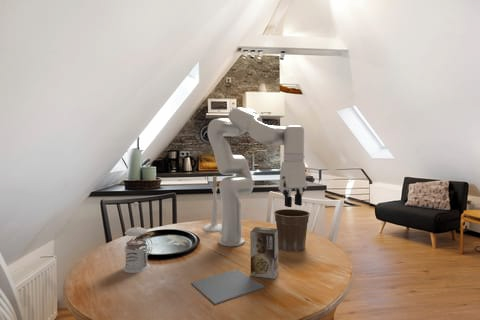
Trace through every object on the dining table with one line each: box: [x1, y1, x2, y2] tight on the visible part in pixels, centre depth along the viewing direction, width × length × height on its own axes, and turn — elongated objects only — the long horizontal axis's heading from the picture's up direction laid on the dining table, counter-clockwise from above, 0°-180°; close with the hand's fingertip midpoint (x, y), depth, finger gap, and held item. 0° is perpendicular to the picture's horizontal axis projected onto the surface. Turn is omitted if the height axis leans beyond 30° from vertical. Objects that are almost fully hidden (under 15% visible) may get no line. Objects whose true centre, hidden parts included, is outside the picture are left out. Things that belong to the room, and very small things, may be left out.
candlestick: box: [203, 175, 222, 233], centre depth 163 cm, size 13×13×30 cm
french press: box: [122, 201, 153, 274], centre depth 110 cm, size 10×12×25 cm
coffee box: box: [249, 226, 279, 280], centre depth 105 cm, size 9×6×16 cm
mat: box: [190, 269, 265, 306], centre depth 97 cm, size 16×18×1 cm
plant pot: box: [273, 208, 311, 252], centre depth 133 cm, size 16×16×16 cm
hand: (293, 205), depth 112 cm, fingers open, 4 cm apart
